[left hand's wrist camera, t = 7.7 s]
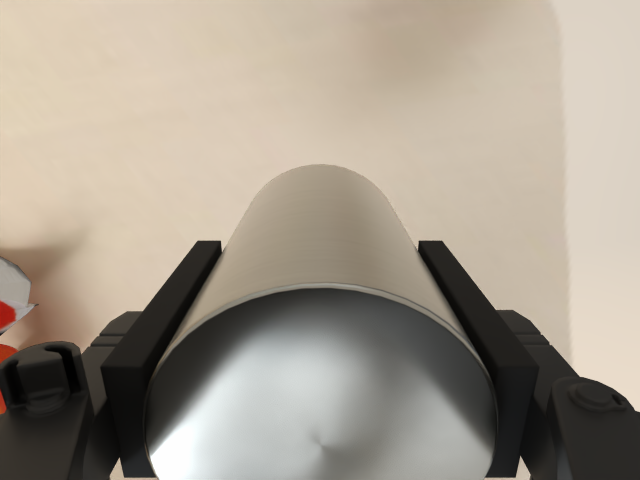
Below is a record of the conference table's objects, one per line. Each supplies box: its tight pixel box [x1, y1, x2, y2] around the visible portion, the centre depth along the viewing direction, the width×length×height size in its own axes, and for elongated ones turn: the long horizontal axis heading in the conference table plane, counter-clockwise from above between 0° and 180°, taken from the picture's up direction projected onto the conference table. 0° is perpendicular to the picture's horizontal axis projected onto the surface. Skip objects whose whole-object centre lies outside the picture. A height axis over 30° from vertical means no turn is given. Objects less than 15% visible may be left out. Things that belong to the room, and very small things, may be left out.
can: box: [142, 164, 499, 480], centre depth 12 cm, size 6×6×10 cm
